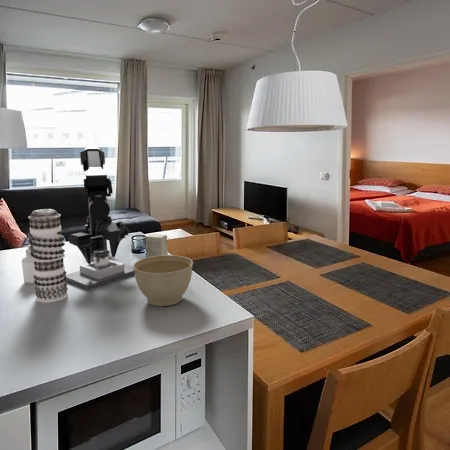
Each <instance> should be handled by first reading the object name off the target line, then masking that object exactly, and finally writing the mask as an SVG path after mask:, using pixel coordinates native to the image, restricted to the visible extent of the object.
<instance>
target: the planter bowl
mask: <svg viewBox="0 0 450 450" xmlns="http://www.w3.org/2000/svg"><path fill="white" fill-rule="evenodd" d="M193 263H194V262H193V260H192V259H191V258H189V257H186V256H181V255H174V254H171V255H170V254H168V255H160V256H152V257H147V256H146V257H144V258H140V259H139V260H137V261H136V262H135V263H134V264H133V265H132V266H133V268H134V271H135V275H134V277H135V281H136V284H137V287H138V288H139V290H140V292H141V293H142V295H143V296H145V298H146V300H147V303H148V304H149V305H151V306H155V307H168V306H174V305H176V304H178V303H180V302H182V299H183V296H184V294H185V293H186V292H187V290H188V288H189V285H190V283H191V280H192V275H193V266H194V264H193Z"/></svg>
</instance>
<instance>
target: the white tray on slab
mask: <svg viewBox="0 0 450 450" xmlns="http://www.w3.org/2000/svg"><path fill="white" fill-rule="evenodd" d="M109 262H110V267H106V268H103V269H100V270H99V269H96V268H94V261H91V264H88V263H87V262H86V263H85V264H80V265H79V270H78V271H73V272H71V273H66V275H65V276H66V277H67V279H66V282H67V283H69V284H72V285H74V286H77V287H78V288H81V289H84V290H87V291H91V290H93V289H96V288H99V287H103V286H105V285H108V284H111V283H114V282H117V281H121V280H124V279H125V278H129V277H133V276H135V271H134V268H133V265H130V264H126V263H123V262H120V261H116V260H111V259H109Z"/></svg>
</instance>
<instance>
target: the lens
mask: <svg viewBox="0 0 450 450" xmlns="http://www.w3.org/2000/svg"><path fill="white" fill-rule="evenodd" d="M109 251H110V250H108V249H107V250H105V249H102V250H96V251H94V252H93V254H94V255H93V262H94V268H96V269H99V270H100V269H103V268H106V267H110V262H109V260H110V253H109Z"/></svg>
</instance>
